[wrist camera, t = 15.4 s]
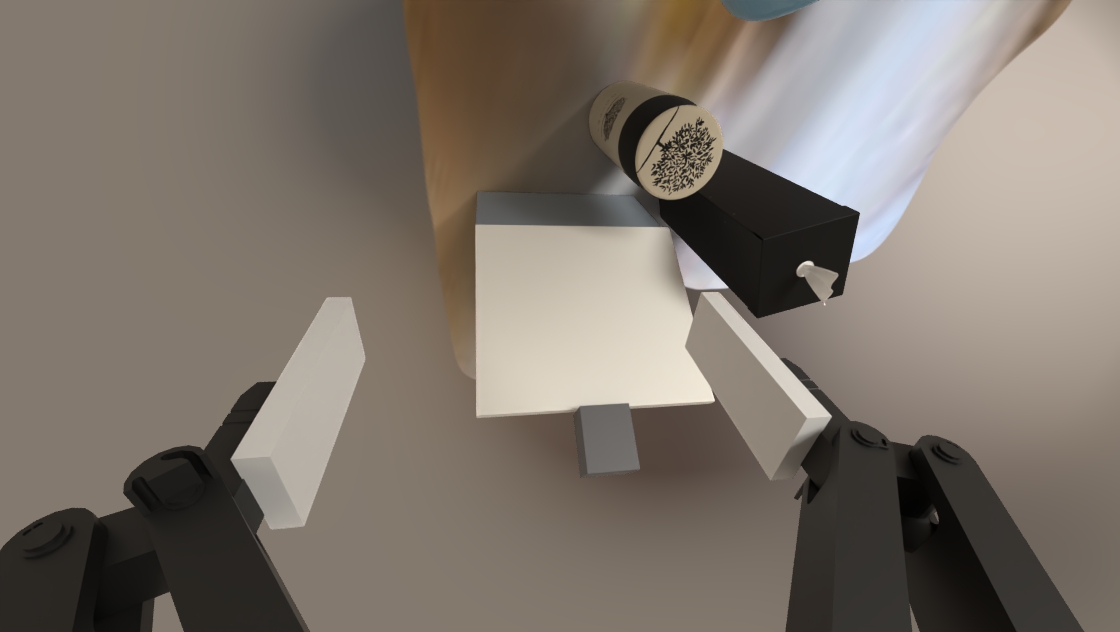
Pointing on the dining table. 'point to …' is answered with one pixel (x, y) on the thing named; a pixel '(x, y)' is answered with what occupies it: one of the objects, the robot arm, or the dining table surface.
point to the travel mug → (656, 138)
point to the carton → (561, 210)
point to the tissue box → (766, 236)
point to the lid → (583, 332)
